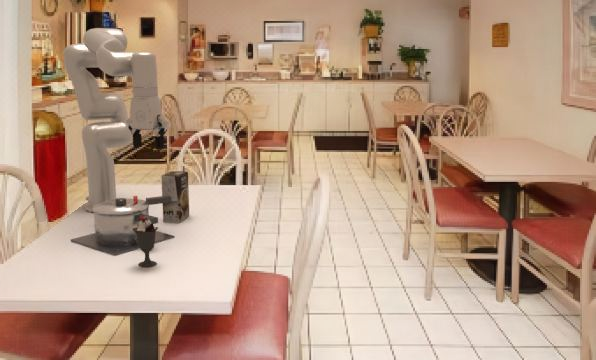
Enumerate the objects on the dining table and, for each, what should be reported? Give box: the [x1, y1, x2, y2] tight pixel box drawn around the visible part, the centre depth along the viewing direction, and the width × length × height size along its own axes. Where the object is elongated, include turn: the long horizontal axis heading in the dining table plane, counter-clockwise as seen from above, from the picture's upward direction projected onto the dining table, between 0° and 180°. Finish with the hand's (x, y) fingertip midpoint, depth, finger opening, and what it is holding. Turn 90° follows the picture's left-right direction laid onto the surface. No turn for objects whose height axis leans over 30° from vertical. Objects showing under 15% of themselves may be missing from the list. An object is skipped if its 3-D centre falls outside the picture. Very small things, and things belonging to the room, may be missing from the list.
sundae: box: [133, 210, 159, 268], centre depth 167 cm, size 7×7×15 cm
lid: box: [92, 195, 172, 215], centre depth 190 cm, size 24×16×3 cm
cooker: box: [70, 208, 175, 256], centre depth 188 cm, size 26×22×10 cm
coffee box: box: [161, 170, 190, 224], centre depth 212 cm, size 9×6×16 cm
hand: (148, 147), depth 195 cm, fingers open, 9 cm apart
